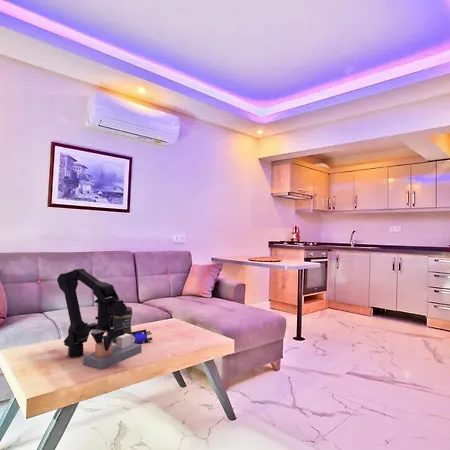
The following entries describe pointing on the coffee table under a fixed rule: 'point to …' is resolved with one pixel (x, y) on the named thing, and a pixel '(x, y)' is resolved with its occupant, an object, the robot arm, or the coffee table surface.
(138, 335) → the character figurine
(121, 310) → the robot arm
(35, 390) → the coffee table surface
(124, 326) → the coffee jar
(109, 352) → the terracotta plug
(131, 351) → the header
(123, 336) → the pale pink plug
